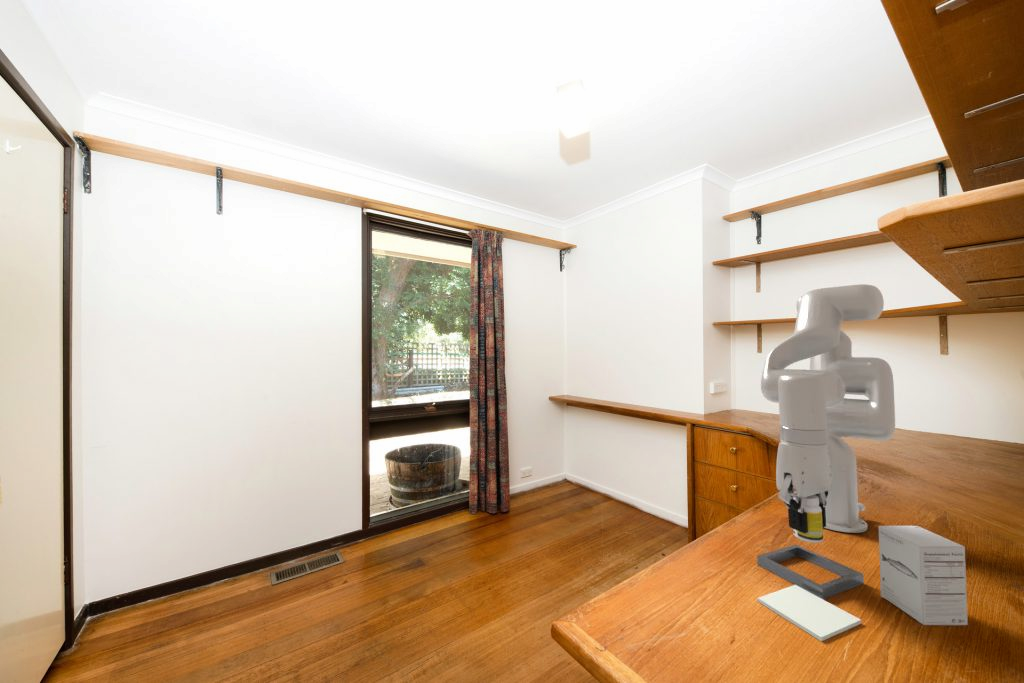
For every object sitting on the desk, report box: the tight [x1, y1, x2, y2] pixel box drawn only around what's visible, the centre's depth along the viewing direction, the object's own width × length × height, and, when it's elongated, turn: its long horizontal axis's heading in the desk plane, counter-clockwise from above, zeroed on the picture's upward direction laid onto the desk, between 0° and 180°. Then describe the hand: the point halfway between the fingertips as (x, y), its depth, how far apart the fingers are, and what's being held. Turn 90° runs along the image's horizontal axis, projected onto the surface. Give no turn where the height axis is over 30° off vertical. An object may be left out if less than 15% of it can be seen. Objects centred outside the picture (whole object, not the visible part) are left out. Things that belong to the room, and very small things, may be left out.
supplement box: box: [878, 525, 969, 626], centre depth 64 cm, size 7×7×13 cm
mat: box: [757, 584, 862, 642], centre depth 64 cm, size 10×10×1 cm
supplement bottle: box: [792, 491, 824, 544], centre depth 75 cm, size 5×5×8 cm
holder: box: [756, 543, 865, 600], centre depth 75 cm, size 12×12×2 cm
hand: (807, 526), depth 75 cm, fingers closed on supplement bottle, 4 cm apart
